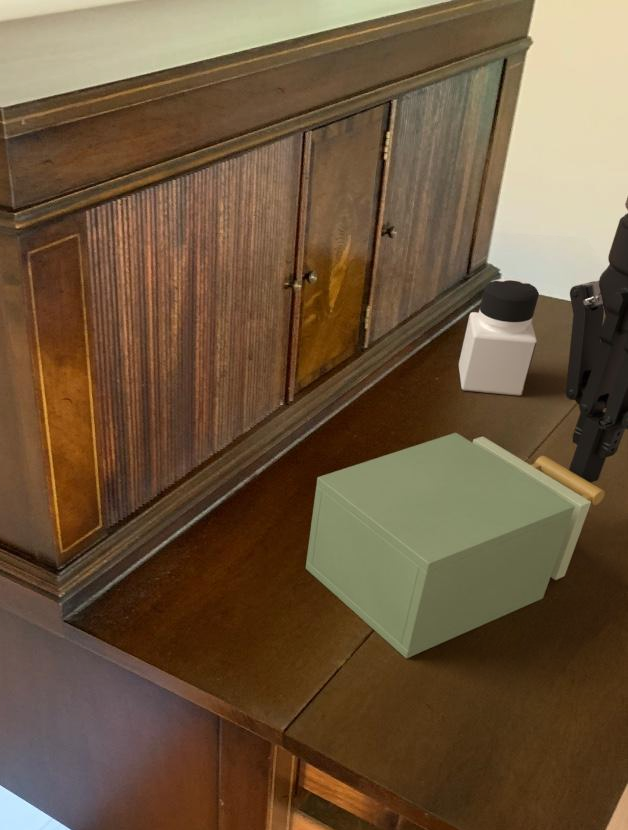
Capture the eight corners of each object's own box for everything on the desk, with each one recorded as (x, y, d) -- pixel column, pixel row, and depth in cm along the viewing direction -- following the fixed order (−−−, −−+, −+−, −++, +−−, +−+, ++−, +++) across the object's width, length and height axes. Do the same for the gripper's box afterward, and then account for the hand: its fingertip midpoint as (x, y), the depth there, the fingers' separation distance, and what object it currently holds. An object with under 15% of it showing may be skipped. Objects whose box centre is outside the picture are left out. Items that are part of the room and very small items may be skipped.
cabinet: (435, 520, 89) (456, 432, 83) (543, 598, 80) (575, 506, 74) (305, 568, 83) (317, 477, 77) (406, 659, 74) (429, 563, 68)
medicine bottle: (522, 396, 110) (549, 298, 102) (461, 391, 110) (483, 293, 103) (516, 370, 115) (541, 275, 107) (457, 365, 116) (479, 270, 108)
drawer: (510, 490, 92) (530, 420, 87) (612, 555, 84) (641, 482, 79) (346, 550, 84) (359, 476, 79) (441, 629, 76) (462, 553, 71)
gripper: (573, 203, 74) (501, 458, 89) (717, 253, 65) (611, 526, 80) (635, 191, 77) (555, 439, 92) (781, 237, 68) (667, 503, 83)
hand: (581, 479), depth 86 cm, fingers closed
